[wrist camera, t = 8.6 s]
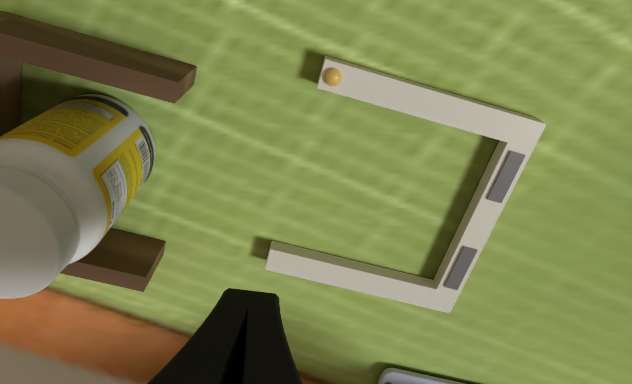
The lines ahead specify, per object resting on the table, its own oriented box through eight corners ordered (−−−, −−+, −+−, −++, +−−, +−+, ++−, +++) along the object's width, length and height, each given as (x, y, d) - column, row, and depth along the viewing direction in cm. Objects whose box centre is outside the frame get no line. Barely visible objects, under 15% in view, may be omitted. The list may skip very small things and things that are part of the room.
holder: (163, 254, 24) (143, 291, 21) (0, 216, 23) (-42, 250, 20) (196, 66, 20) (177, 82, 17) (1, 11, 19) (-51, 18, 16)
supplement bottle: (27, 131, 21) (-136, 225, 14) (103, 69, 20) (-28, 134, 12) (106, 210, 23) (0, 333, 15) (180, 157, 22) (106, 262, 14)
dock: (445, 303, 25) (450, 314, 24) (265, 260, 24) (264, 270, 23) (538, 118, 21) (547, 125, 20) (325, 55, 20) (325, 59, 19)
